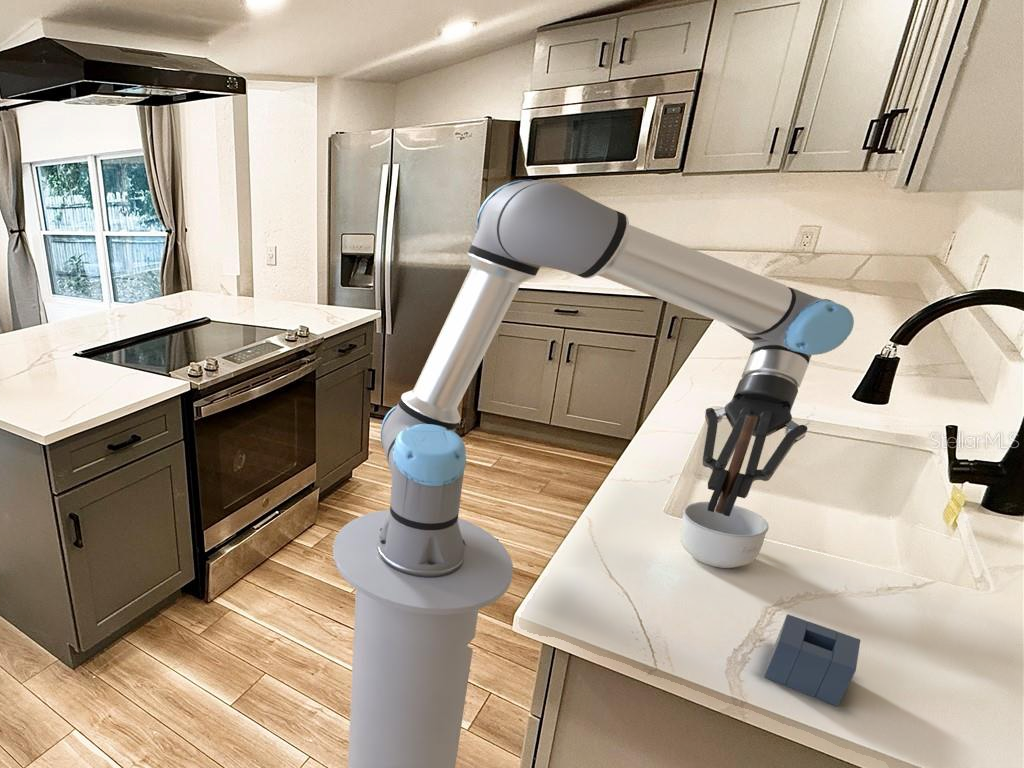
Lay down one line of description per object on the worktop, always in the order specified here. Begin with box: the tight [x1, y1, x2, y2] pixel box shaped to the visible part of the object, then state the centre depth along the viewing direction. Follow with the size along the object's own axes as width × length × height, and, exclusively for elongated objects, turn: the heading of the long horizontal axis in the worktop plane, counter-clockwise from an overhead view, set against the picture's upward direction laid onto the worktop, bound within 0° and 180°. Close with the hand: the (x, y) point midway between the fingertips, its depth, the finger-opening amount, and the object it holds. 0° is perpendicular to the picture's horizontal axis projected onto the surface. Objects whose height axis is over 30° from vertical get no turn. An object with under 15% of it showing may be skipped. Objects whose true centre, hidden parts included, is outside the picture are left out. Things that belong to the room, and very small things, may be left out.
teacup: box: [679, 499, 769, 569], centre depth 102 cm, size 14×11×8 cm
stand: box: [764, 613, 861, 708], centre depth 78 cm, size 7×7×6 cm
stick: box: [715, 414, 758, 514], centre depth 97 cm, size 1×1×17 cm
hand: (718, 510), depth 97 cm, fingers closed on stick
